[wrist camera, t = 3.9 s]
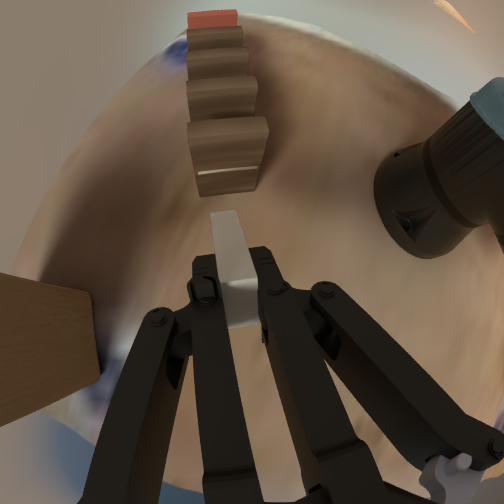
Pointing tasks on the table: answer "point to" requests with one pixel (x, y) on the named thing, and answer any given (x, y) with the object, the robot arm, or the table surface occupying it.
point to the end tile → (212, 19)
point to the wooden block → (43, 345)
